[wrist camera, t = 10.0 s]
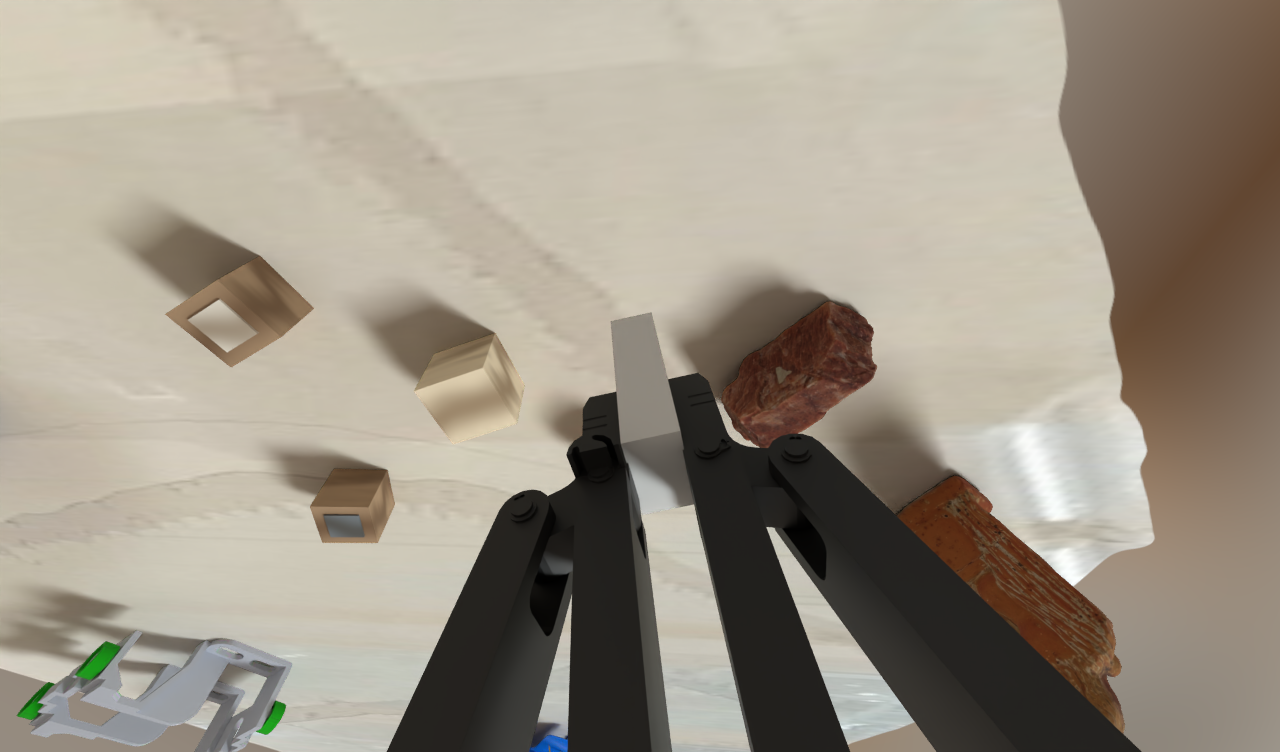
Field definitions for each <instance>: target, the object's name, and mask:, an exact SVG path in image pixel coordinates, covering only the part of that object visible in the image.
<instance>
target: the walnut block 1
mask: <svg viewBox="0 0 1280 752" xmlns="http://www.w3.org/2000/svg"><path fill="white" fill-rule="evenodd" d="M313 309H314V308H313V307H312V306H311V305H310V304H309V303H308V302H307V301H306V300H305V299H304V298H303V297H302V296H301V295H300V294H299V293H298V292H297V291H296V290H295V289H294V288H293V287H292V286H291V285H290V284H289V283H288V282H287V281H285V280H284V279H283V278H282V277H281V276H280V275H279V274H278V273H277V272H276V271H275V270H274V269H273V268H272V267H271V266H270V265H269V264H268V263H267V262H266V261H265V260H264V259H263V258H262V257H261V256H259V257H257V258H255V259H253V260H252V261H250V262H248V263H246V264H245V265H243V266H241V267H239V268H237V269H236V270H234V271H232V272H230V273H229V274H227V275H225V276H223V277H221V278H220V279H218V280H216V281H215V282H213V283H212V284H210V285H209V286H207V287H206V288H204V289H203V290H201V291H200V292H198V293H197V294H195V295H194V296H192V297H191V298H189V299H187V300H186V301H184V302H183V303H181V304H180V305H178V306H177V307H175V308H174V309H172V310H171V311H169V312H168V313H166V314H165V315H167V316H168V317H169V318H170V319H172V320H173V321H174V322H175V323H177V324H178V325H179V326H180V327H181V328H183V329H184V330H185V331H186V332H188V333H189V334H190V335H191V336H193V337H194V338H195V339H196V340H198V341H199V342H200V343H201V344H203V345H204V346H205V347H206V348H208V349H209V350H210V351H211V352H212V353H214V354H215V355H216V356H217V357H219V358H220V359H221V360H222V361H224V362H225V363H226V364H227V365H229V366H230V367H233V366H234V365H236V364H238V363H239V362H241V361H243V360H244V359H246V358H247V357H249V356H251V355H252V354H254V353H256V352H257V351H259V350H261V349H262V348H264V347H266V346H267V345H269V344H270V343H272V342H274V341H275V340H277V339H279V338H280V337H282V336H283V335H284V334H285V333H286V332H287V331H289V330H290V329H291V328H292V327H293V326H294V325H296V324H297V323H298V322H299V321H300V320H301V319H303V318H304V317H305V316H306V315H307V314H308V313H309V312H311V311H312V310H313Z"/></svg>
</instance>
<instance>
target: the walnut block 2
mask: <svg viewBox="0 0 1280 752" xmlns="http://www.w3.org/2000/svg"><path fill="white" fill-rule="evenodd" d="M394 505H395V502H394V498H393V493H392V489H391V484H390V479H389V475H388V470H372V469H334V470H333V471H332V473H331V474H330V476H329V477H328V479H327V481H326V482H325V484H324V485H323V487H322V488H321V490H320V491H319V493H318V495H317V496H316V498H315V499H314V501H313V502H312V504H311V506H310V508H311V511H312V514H313V517H314V520H315V523H316V526H317V528H318V531H319V534H320V537H321V540H322V543H378V541H379V539H380V537H381V534H382V532H383V530H384V528H385V525H386V523H387V521H388V519H389V516H390V514H391V512H392V510H393V508H394Z"/></svg>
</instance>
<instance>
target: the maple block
mask: <svg viewBox="0 0 1280 752" xmlns="http://www.w3.org/2000/svg"><path fill="white" fill-rule="evenodd" d="M524 387H525V385H524V383H523V381H522V379H521V377H520V376H519V374H518V372H517V370H516V369H515V367H514V365H513V363H512V362H511V360H510V358H509V356H508V355H507V353H506V351H505V349H504V347H503V346H502V344H501V342H500V340H499V339H498V337H497V335H496V333H494V334H491V335H488V336H485V337H482V338H479V339H476V340H473V341H470V342H467V343H464V344H462V345H459V346H456V347H453V348H450V349H447V350H444V351H441V352H438V353H435V354H434V355H433V357H432V359H431V361H430V362H429V364H428V366H427V368H426V370H425V372H424V373H423V375H422V377H421V379H420V381H419V383H418V384H417V386H416V388H415V390H414V392H415V393H416V395H417V396H418V397H419V399H420V400H421V402H422V403H423V404H424V406H425V407H426V408H427V410H428V411H429V412H430V414H431V415H432V417H433V418H434V419H435V421H436V422H437V423H438V425H439V426H440V427H441V429H442V430H443V431H444V433H445V434H446V436H447V437H448V438H449V440H450V441H451V442H452V444H456V443H459V442H462V441H465V440H469V439H472V438H475V437H478V436H481V435H484V434H487V433H490V432H493V431H496V430H499V429H502V428H506V427H509V426H512V425H515V424H517V422H518V417H519V412H520V407H521V402H522V397H523V392H524Z"/></svg>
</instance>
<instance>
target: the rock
mask: <svg viewBox="0 0 1280 752" xmlns="http://www.w3.org/2000/svg"><path fill="white" fill-rule="evenodd" d="M873 334H874V331H873V328H872V326H871V325H869V324H868V322H867V320H866V319H865V318H864V317H863V316H861V315H859V314H857V313H856V312H854V311H852V310H851V309H848V308H846V307H842V306H838V305H836V304H834V303H832V302H831V301H829V302H826V303H824V304H823V305H822V306H820V307H819V308H818V309H816V310H815V311H813V312H812V313H811V314H809V315H808V316H806V317H804V318H802V319H801V320H800V321H798V322H797V323H796V324H794V325H793V326H791V327H790V328H788V329H787V330H785V331H784V332H782V334H781V335H779V336H778V337H777V338H776V339H775V340H774V341H772V342H770V343H769V344H768V345H767V346H765V347H763V348H762V349H761V350H759V351H756V352H754V353H751V354H750V355H748V356H747V357H746V358H745V359H744V360H743V362H742V364H741V366H740V368H739V376H738V377H737V379H736V380H735V381H734V382H732V383H731V384H730V385H729V386H727V387H726V388H725V390H724V391H723V394H722V398H721V401H722V403H723V404H724V408H725V410H726V412H727V414H728V415H729V417H730V418H731V420H732V425H733V427H734V429H735V430H736V431H737V432H739V433H740V434H741V435H742V436H743V438H744V439H746V440H748V441H749V440H751V442H752V443H753V444H755V445H756V446H759V447H760V448H768V447H769V446H770V444H771V443H772V441H773V440H775V439H777V438H778V437H780V436H782V435H787V434H797V433H799V432H801V431H803V430H805V429H807V428H808V427H810V426H811V425H813V424H814V423H816V422H817V421H819V420H820V419H822V418H823V417H824V415H825V413H826V412H827V411H828V410H829V409H830V408H832V407H833V406H835V405H836V404H838V403H839V402H841V401H842V400H843V399H844V398H846V397H847V396H849V395H850V394H851V393H853V392H855V391H856V390H858V389H859V388H861V387H863V386H864V385H865V384H867V383H868V382H870V381H871V379H872V378H873V377H874V374H875V372H876V369H877V365H875V364H874V362H873V361H872V347H871V341H872V337H873Z"/></svg>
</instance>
